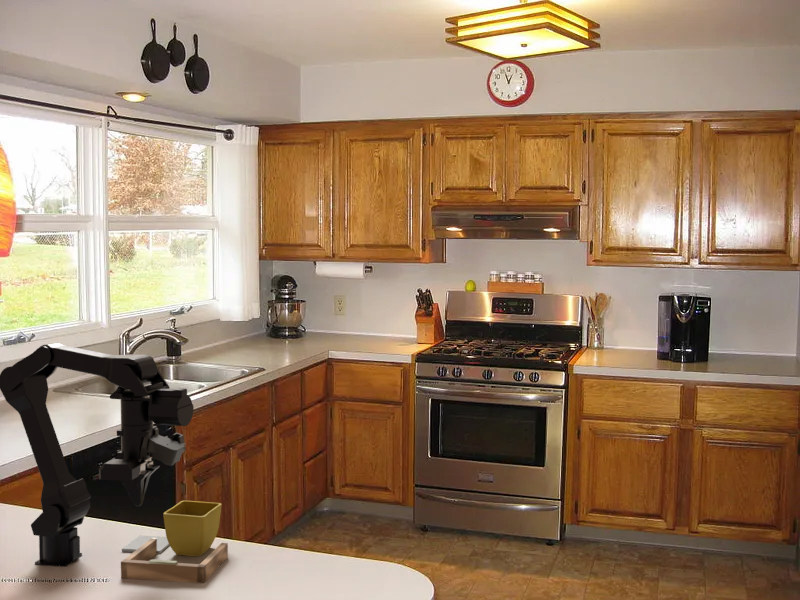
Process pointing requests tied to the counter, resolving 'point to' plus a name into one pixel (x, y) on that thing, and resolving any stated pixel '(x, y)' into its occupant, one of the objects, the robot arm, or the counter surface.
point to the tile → (140, 540)
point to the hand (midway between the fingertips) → (138, 505)
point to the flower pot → (192, 526)
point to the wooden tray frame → (169, 565)
